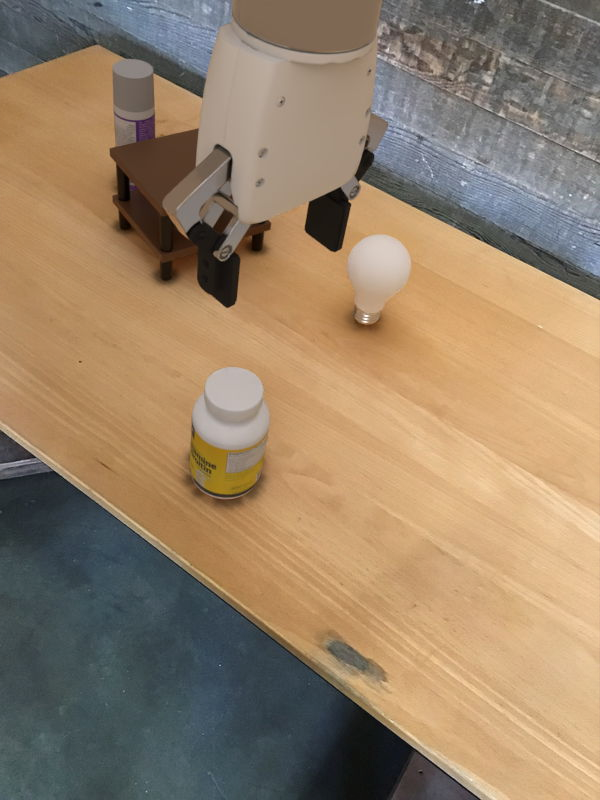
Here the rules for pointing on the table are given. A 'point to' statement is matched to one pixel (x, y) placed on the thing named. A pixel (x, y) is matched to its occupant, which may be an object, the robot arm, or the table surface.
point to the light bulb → (376, 274)
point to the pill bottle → (229, 434)
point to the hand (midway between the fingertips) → (271, 266)
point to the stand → (162, 195)
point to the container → (133, 102)
